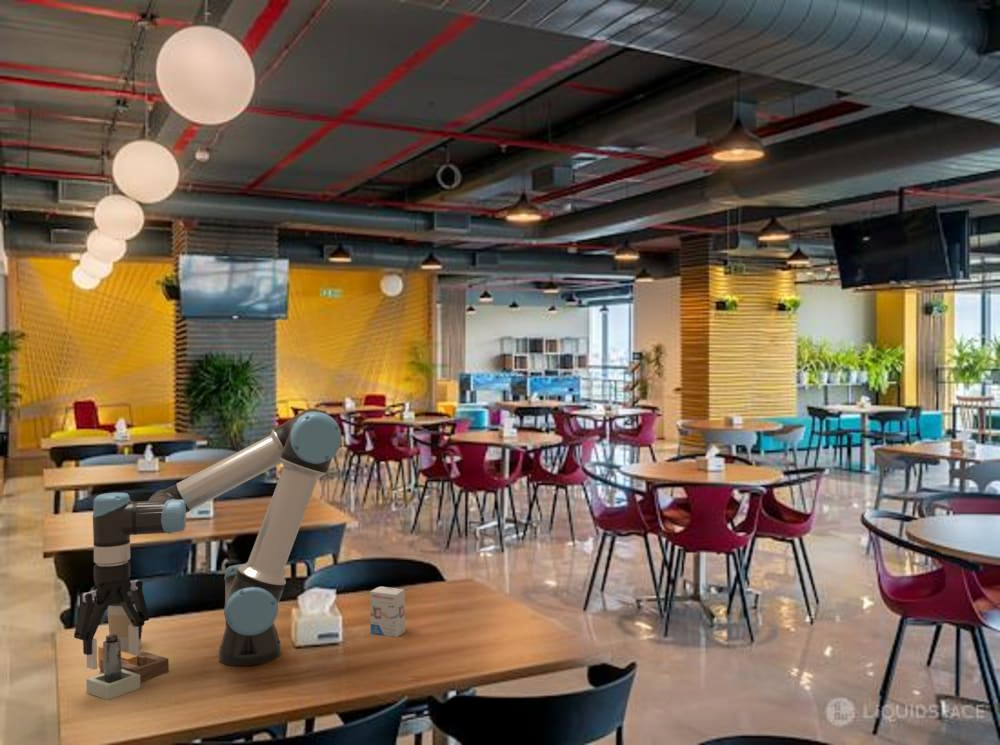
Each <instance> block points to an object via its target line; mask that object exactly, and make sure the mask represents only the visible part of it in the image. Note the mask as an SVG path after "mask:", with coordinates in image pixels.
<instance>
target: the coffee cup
mask: <svg viewBox="0 0 1000 745" xmlns="http://www.w3.org/2000/svg"><path fill="white" fill-rule="evenodd" d="M127 594H128V596H129V598H130V599H131V603H132V605H133V606H134V608H135V610H136V607H135V603H134V600H133V596H132V592H131V589H129V591H128V593H127ZM143 596H144V597H145V595H144V594H143ZM106 614H107V624H108V633H109V634H108V635H113V634H116V635H117V636H118V639H120V640H121V651H122V652H125V651H128V650H129V633H128V626H129V625H133V624H132V623H131V621H130V619H129V618H128V616H127V614H126V613H125V611H124V609H123V608H122V606H121V604H120V603H115V604H113V605H110V606H108V609H107V613H106ZM143 626H144V625H143ZM143 626H141V633H143ZM141 643H142V638H141V639H139V650H140V649H141V647H142V646H141Z"/></svg>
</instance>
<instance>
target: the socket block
mask: <svg viewBox="0 0 1000 745" xmlns="http://www.w3.org/2000/svg"><path fill="white" fill-rule="evenodd" d="M125 653H129V650H128V651H125ZM169 661H170V660H169V658H168V657H164V656H160V655H159V654H158V655H157V654H153V653H151V652H147V651H144V650H140V649H139V655H137V665H134V664H130V662H129V661H125V660H122V659H121V665H122V669H124V670H127V671H130V672H133V673H136V674H140V682H142V681H145V680H148V679H150V678H154V677H156V676H159V675H162V674H165V673H167V672H169V670H170V668H169V663H170V662H169ZM99 667H100V668H99V671H100V673H101V674H103V673H104V659H101V660H100V665H99Z"/></svg>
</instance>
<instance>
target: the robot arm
mask: <svg viewBox="0 0 1000 745" xmlns="http://www.w3.org/2000/svg"><path fill="white" fill-rule="evenodd" d="M341 443H342V431H341V429H340V426H339V424H338V422H337V421H336V420H335V419H334V418H333V417H332V416H331V415H329V414H326V413H325V412H322V411H320V410H316V409H307V410H303V411H301V412H299V413H297V414H296V415H294V416H293V417H291V418H290V419H289V420H287V421H285V422H284V423H282V424H280V425H279V426H277V427H275V428H273V429H272V430H271V433H270V435H268V436H266V437H264V438H263V439H260V440H259V441H257V442H255V443H252V444H251V445H249V446H246V447H245V448H243V449H241V450H239V451H237V452H235V453H233V454H232V455H230V456H227V457H225V458H224V459H223V458H222V460H220V461H218V462H216V463H214V464H212V465H210V466H208V467H206V468H204V469H202V470H200V471H198V472H196V473H194V474H193V475H190V476H188V477H187V478H185V479H183V480H181V481H179V482H176V484H174V485H171V486H169V487H167V488H165V489H160V490H158V491H156V492H155V493H153V494H152V495H151V496H150V497H149V499H148V500H143V501H134V500H133V501H132V500H131V499H130V495H129V494H128V493H126V492H110V493H109V492H107V493H102V494H98V495H96V497H95V498H94V499H93V507H92V508H93V514H92V532H93V533H92V534H93V535H92V536H93V539H92V540H93V563H95V564H94V566H93V581H94V588H93V590H91V591H88V592H85V591H82V592H81V593H80V603H81V604H80V606H79V607H80V608H79V612H78V616H77V621H76V626H75V628H74V635H73V637H74V639H77V640H81V641H82V650H83V651H82V652H83V655H86V669H90V670H94V671H95V670H97V669H98V643H97V642H98V641H97V640H98V639H97V638H94V637H95V635H96V632H97V630H98V628H99V625H100V623H101V621H102V619H103V617H104V614H105V612H106V611H108V606H110V605H113V604H115V603H120V604H121V606H122V608H123V609H124V611H125V613H126V614H127V616H128V618H129V619H130V621H131V623H132V624H133V625H129V626H128V633H129V654H132V655H135V656H137V655H139V650H140V649H139V639H141V640H142V632H141V626H144V625H145V622H148V621H149V620H150V615H149V611H148V607H147V604H146V601H145V600H146V599H145V595H144V592H143V581H142V580H139V579H132V580H130V579H131V578H130V577H131V562H130V561H129V560H130V559H131V538H130V537H131V536H137V535H151V534H152V535H154V534H155V535H156V534H169V535H170V534H172V533H180V532H183V531H185V529H186V527H187V526H186V524H187V513H189V512H191V511H192V510H194V509H196V508H199V506H200V507H201V506H202V505H205V503H207V502H210V501H211V500H213V499H215V498H217V497H219V496H221V495H223V494H225V493H227V492H229V491H231V490H233V489H235V488H236V487H239V486H240V485H242V484H245V483H246V482H248V481H249V480H252V479H254V478H256V477H258V476H260V475H261V474H263V473H265V472H267V471H270V470H271V469H272V468H275V467H277V466H280V465H281V464H282V466H283V468H282V471H281V473H280V476H279V478H278V481H277V484H276V485H275V486H276V487H275V489H274V490H273V491H274V492H273V495H272V497H271V499H270V502H269V505H268V507H267V511H266V513H265V515H264V518H263V520H262V523H261V526H260V527H259V531H258V533H257V536H256V539H255V542H254V543H253V544H254V545H253V547H252V550H251V552H250V555H249V557H248V559H247V562H245V563H242V564H241V563H239V564H234V565H230V566H227V568H226V569H225V571H224V572H225V573H224V582H225V583H224V586H225V588H224V590H225V592H224V593H225V594H224V595H225V597H224V599H225V600H224V607H223V609H224V611H223V614H224V618H225V628H224V632H223V635H222V640H221V644H220V645H219V648H218V660H219V662H220V663H222V664H224V665H228V666H229V665H230V666H238V667H239V666H240V667H241V666H245V667H246V666H252V665H253V666H254V665H259V664H263V663H264V664H265V663H267V662H270V661H273V660H275V659H277V658H278V657H279V656H281V654H282V643H281V640H280V639H279V638H280V637H279V634H278V631H277V629H276V628H277V627H276V625H275V621H276V618H277V616H278V613H279V612H278V611H279V602H280V601H281V597H282V595H283V592H284V589H285V586H286V584H287V580H286V579H285V577H284V570H285V568H286V565H287V563H288V560H289V556H290V554H291V552H292V549H293V546H294V543H295V541H296V538H297V535H298V533H299V530H300V528H301V524H302V522H303V520H304V517H305V514H306V511H307V510H308V506H309V503H310V500H311V498H312V495H313V493H314V490H315V488H316V485H317V482H318V479H319V478H321V477H323V476H325V475H327V473H328V470H329V468H330V466H331V463H332V460H333V458H334V457H335V455H337V452H338V451H339V449H340V447H341ZM129 589H131V592H132V596H133V600H134V603H135V607H136V610H135V608H134V606H133V605H132V603H131V599H130V598H129V596H128V594H127V593H128V591H129ZM143 595H144V596H143ZM95 598H96V599H95ZM93 602H94V603H93Z"/></svg>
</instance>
